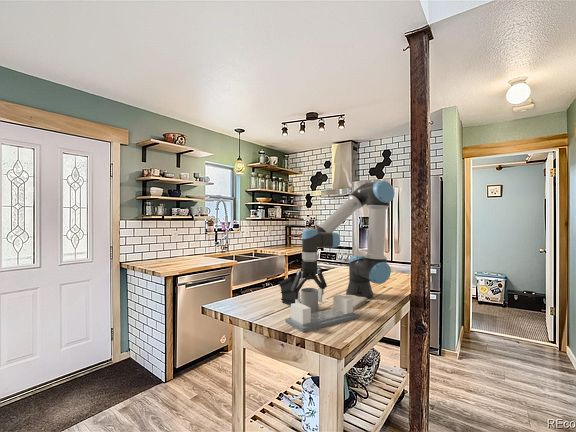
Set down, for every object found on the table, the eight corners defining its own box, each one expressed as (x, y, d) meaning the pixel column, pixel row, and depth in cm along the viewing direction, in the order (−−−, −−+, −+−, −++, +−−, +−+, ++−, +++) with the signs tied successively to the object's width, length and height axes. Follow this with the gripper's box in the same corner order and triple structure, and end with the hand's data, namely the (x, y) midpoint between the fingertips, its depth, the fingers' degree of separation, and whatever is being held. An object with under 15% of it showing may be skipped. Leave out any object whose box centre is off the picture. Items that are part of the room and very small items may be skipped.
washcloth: (368, 301, 162) (368, 296, 162) (356, 310, 148) (356, 304, 147) (347, 298, 169) (347, 292, 169) (333, 306, 154) (333, 300, 154)
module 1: (298, 316, 132) (298, 302, 132) (310, 322, 124) (310, 307, 124) (290, 317, 130) (290, 303, 130) (302, 324, 122) (302, 309, 122)
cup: (321, 310, 147) (321, 289, 147) (311, 314, 141) (311, 293, 141) (308, 306, 153) (308, 287, 152) (297, 310, 147) (297, 290, 146)
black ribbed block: (298, 305, 148) (290, 276, 153) (283, 311, 157) (276, 283, 162) (304, 304, 151) (295, 275, 156) (289, 309, 160) (281, 282, 165)
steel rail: (339, 308, 144) (339, 307, 144) (353, 313, 137) (353, 312, 137) (290, 319, 130) (290, 317, 130) (302, 326, 122) (302, 324, 122)
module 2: (339, 307, 144) (339, 294, 144) (353, 312, 137) (353, 299, 137) (333, 308, 142) (333, 295, 142) (346, 313, 135) (346, 300, 135)
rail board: (339, 310, 147) (339, 307, 147) (358, 317, 136) (358, 314, 136) (285, 322, 131) (285, 318, 130) (302, 332, 119) (302, 328, 119)
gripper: (324, 257, 156) (324, 298, 156) (283, 261, 143) (283, 305, 143) (334, 259, 150) (333, 301, 150) (292, 263, 137) (291, 309, 137)
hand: (309, 303), depth 147 cm, fingers open, 13 cm apart
